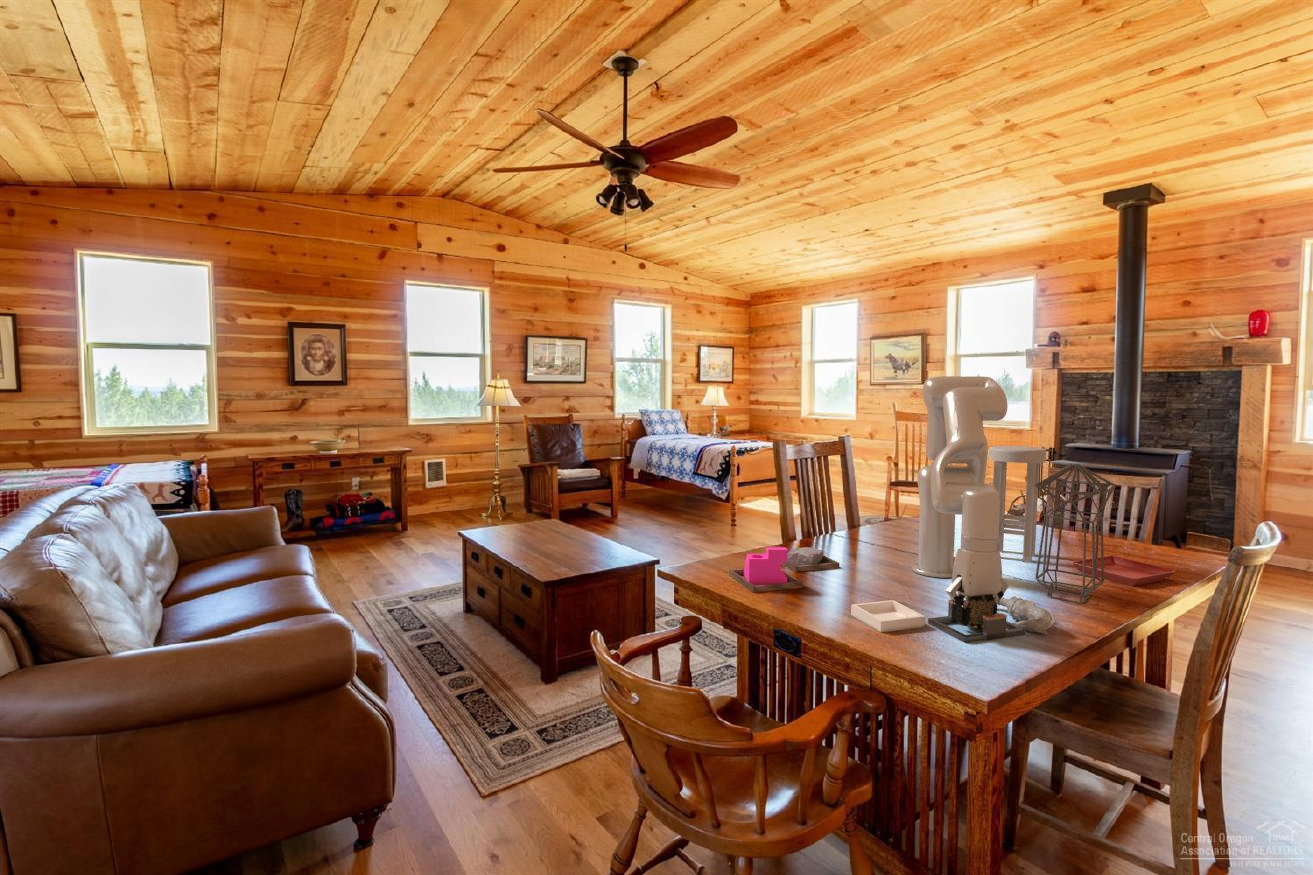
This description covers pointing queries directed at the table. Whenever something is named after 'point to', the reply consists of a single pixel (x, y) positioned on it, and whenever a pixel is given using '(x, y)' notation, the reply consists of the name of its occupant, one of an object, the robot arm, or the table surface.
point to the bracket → (766, 567)
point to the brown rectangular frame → (828, 565)
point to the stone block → (805, 556)
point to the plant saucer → (1125, 570)
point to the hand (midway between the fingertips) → (976, 621)
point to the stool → (999, 482)
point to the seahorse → (1028, 614)
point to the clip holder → (991, 626)
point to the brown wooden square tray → (770, 587)
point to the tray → (887, 616)
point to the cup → (979, 610)
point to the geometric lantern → (1098, 515)
